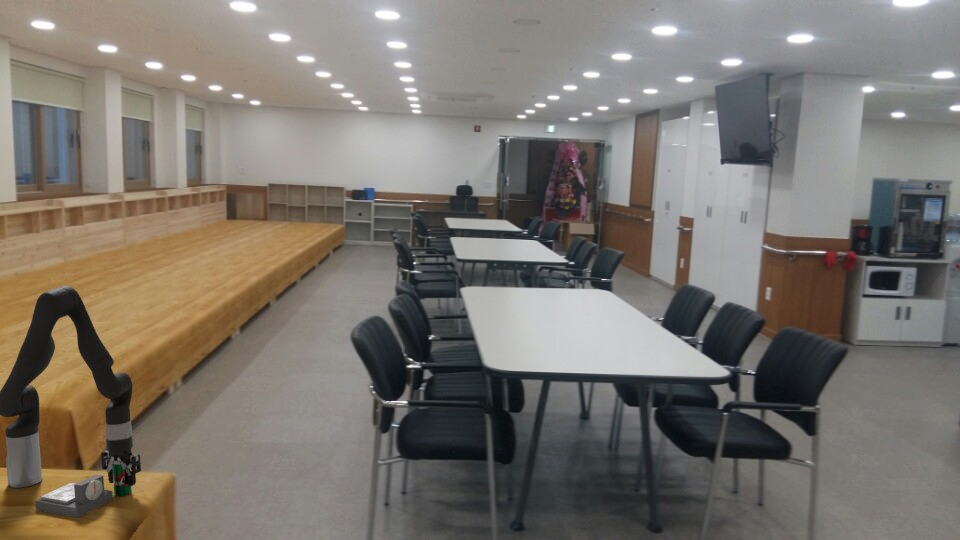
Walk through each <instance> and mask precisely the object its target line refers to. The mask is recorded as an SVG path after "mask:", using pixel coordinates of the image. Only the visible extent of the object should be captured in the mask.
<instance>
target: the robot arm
mask: <svg viewBox="0 0 960 540" xmlns="http://www.w3.org/2000/svg"><path fill="white" fill-rule="evenodd" d="M67 316H68V317H69V319H70V320H71V321H72V323H73V325H74V327H75V330H76V331H75V332H76V338H77V348H78V351H79V354H80V357H81V358H82V359H83V361H84V363H85V364H86V366H87V367H88V368H89V370H90V371H91V373H92V378H93V381H94V383H95V386H96V388H97V389H96V390H97V391H98V392H99V394H101V396H102V397H104V398H106V399H107V400H110V401H109V403H108V405H106V407H105V410H104V413H105V439H106V440H105V442H106V450H104V451H102V452H100V456H101V457H100V459H101V468H102V470H103V471H106V472H107V478H108V483H109V484H113V469H112V463H113V461H115V460H118V462H119V463H120V464H121V466H122V468H123V469H124V470H126V472H127V474H128V486H130V487H131V488H132V487H133V486H135V485H136V484H137V479H136V478H137V477H136V474H138V473H140V472H141V471H142V468H141V465H142V464H141V455H140V454H139V453H137V454H133V453H132V449H133V447H134V442H133V441H134V440H133V428H132V427H133V426H132V422H131V410H130V406H131V402H132V401H131V400H132V394H133V381H132V378H131V376H130V375H129V374H128V373H126V372H121V371H120V372H117V373H114V371H113V368H112V366H114V363H115V360H114V359H113V357H112V356H111V354H110V352H109V351H108V349H107V347H106V346H105V345H104V343H103V341H101V339H100V337H99V335H98V333H97V331H96V329H95V327H94V324H93V322H92V319H91V317H90V315H89V313H88V310H87V308H86V306H85V303H84V302H83V299H82V297H81V296H80V294H79V293H78V291H77V290H76V289H75V288H73V287H71V286H69V285H62V286H59V287H56V288H53V289H49V290H47V291H45V292H43V293H41V294H40V295H39V296H38V298H37V300H36V302H35V305H34V309H33V314H32V317H31V322H30V325H29V327H28V329H27V332H26V336H25V338H24V341H23V342H22V345H21V347H20V350H19V352H18V354H17V357H16V360H15V363H14V365H13V367H12V370H11V372H9V373H10V374H9V375H8V377H7V379H6V381H5V383H4V384H3V386H2V388H1V389H0V416H1V417H4V418H12V417H17V416H18V417H17V418H16V419H15V420H14V421H13V422H11V423H10V424H9V425H8V426H6V428H5V431H4V432H5V433H4V434H5V439H6V440H5V443H6V453H7V456H6V457H5V462H6V463H5V464H6V476H7V477H6V478H7V485H9V486H10V487H11V488H14V489H19V488H27V487H30V486H34V485H37V484H39V483H40V482H42V481H43V475H42V459H41V450H40V449H41V448H40V446H41V445H40V433H39V425H40V420H41V419H40V398H39V397H40V396H39V392H38V391H37V388H35V387H34V386H33V385H31V383H33V381H35V380H36V379H37V378H39V376H40V375H41V374H42V373H43V372H44V371H45V370H46V369H48V368H47V367H48V366H49V365H50V363H51V360H52V358H53V356H54V353H55V351H56V350H55V349H56V343H55V340H54V338H53V336H52V332H53V330H54V328H55V326H56V323H57V322H58V321H59V320H60V319H61V318H63V317H67ZM126 464H130V465H129V466H126ZM129 468H130V469H129Z"/></svg>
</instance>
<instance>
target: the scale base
mask: <svg viewBox="0 0 960 540" xmlns="http://www.w3.org/2000/svg"><path fill="white" fill-rule="evenodd" d="M104 478H105V477H104V475H102V474H94V475H92V476H90V477H87V478H85V479H83V480H81V481H77V483H76V482H75V483H76V484H74V491H75V501H74V502H71V503H69V504H62V503H56V502H51V501H45V500H41V499H40V498H39V499H37V500H35V501H34V502H35V503H34V504H35V511H38V512H39V511H40V512H45V513H50V514H55V515H59V516H60V515H61V516H65V515H67V516H66V517H72V518H80V517H82V516H84V515H86V514H88V513H90V512H92V511H93V510H96V509H97V508H99V507H102V506H105V505H106V504H108V503H110V502H112V501H113V500H114V497H113V494H114V493H113V490H110V489H109V490H108V489H105V480H104Z"/></svg>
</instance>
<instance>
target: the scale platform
mask: <svg viewBox="0 0 960 540" xmlns="http://www.w3.org/2000/svg"><path fill="white" fill-rule="evenodd" d="M74 484H76V482H70V483H67V484H65V485H63V486H60V487H58V488H56V489H54V490H52V491H50V492H47V493H45V494H43V495H41V496H39V499H41V500H45V501H51V502H56V503H62V504H69V503H71V502H74V501H75V491H74Z"/></svg>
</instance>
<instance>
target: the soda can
mask: <svg viewBox="0 0 960 540" xmlns="http://www.w3.org/2000/svg"><path fill="white" fill-rule="evenodd" d="M129 465H130V464H126V466H129ZM112 469H113V483H112V484H113V494H114V496H116V497H117V496H118V498H119V497H120V498H122V497H125V496H128V495H130V494H131V493H132V491H133V490H132V486H131V487H130V486H128V474H127V472H126V470H124V469H123V468H122V466H121V464H120V463H119V462H118V460H115V461H113V463H112ZM129 469H130V470H131V468H129Z"/></svg>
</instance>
